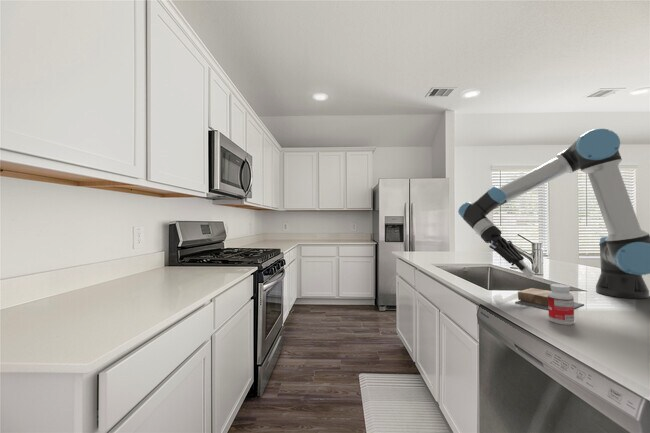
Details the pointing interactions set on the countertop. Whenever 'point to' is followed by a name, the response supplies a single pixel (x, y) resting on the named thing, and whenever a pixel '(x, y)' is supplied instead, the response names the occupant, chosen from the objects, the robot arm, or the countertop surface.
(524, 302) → the dark grey rubber mat
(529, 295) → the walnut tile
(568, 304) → the pill bottle
